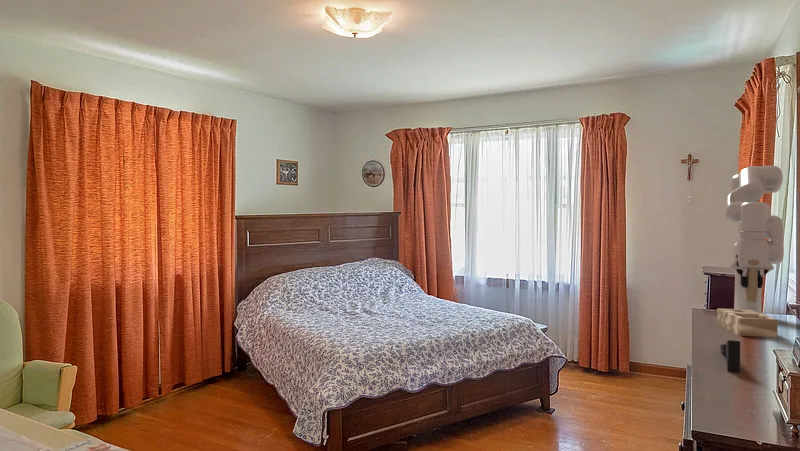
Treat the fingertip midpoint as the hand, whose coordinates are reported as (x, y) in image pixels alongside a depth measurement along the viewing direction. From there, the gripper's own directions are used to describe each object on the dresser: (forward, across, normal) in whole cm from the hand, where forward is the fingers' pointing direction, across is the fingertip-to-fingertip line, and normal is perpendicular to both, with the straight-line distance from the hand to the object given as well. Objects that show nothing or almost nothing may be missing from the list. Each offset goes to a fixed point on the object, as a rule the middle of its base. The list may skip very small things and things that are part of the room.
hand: (751, 286), depth 196 cm
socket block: (+16, 0, -4) cm, 17 cm away
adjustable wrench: (+17, +24, +43) cm, 52 cm away
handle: (+5, 0, 0) cm, 5 cm away
